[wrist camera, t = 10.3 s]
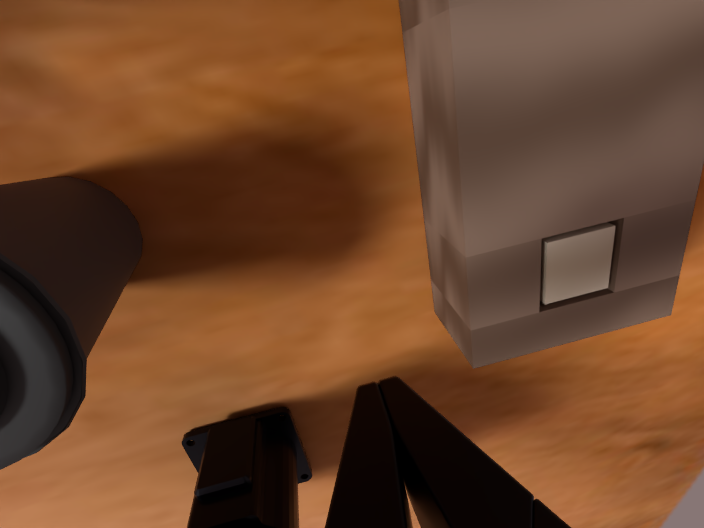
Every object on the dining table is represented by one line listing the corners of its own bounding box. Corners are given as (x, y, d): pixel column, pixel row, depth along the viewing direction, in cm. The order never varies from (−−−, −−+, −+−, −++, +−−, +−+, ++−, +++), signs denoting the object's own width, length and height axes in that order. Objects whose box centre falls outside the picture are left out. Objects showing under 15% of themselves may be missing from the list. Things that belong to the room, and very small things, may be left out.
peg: (545, 250, 21) (607, 287, 17) (494, 263, 21) (545, 304, 17) (547, 198, 20) (615, 225, 16) (492, 211, 19) (547, 242, 15)
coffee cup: (-76, 166, 15) (-614, 274, 6) (129, 123, 16) (-83, 165, 7) (35, 329, 19) (-199, 552, 10) (199, 290, 19) (123, 466, 10)
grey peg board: (594, 270, 23) (671, 315, 18) (434, 312, 22) (473, 368, 17) (641, -203, 14) (812, -344, 9) (380, -157, 13) (430, -284, 9)
